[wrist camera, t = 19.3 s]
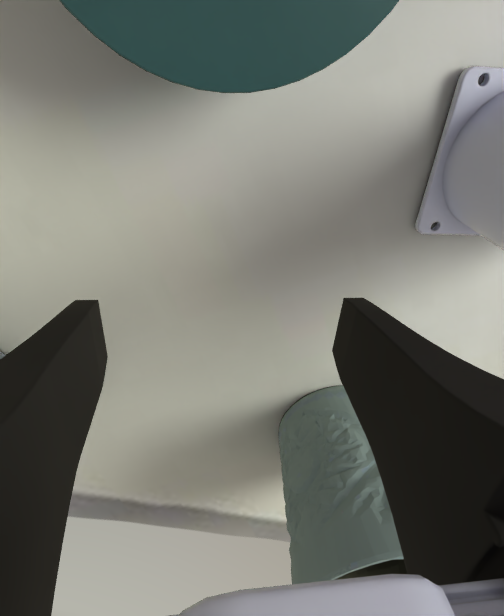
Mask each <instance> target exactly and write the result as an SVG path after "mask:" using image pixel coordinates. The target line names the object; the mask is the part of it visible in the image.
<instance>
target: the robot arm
mask: <svg viewBox="0 0 504 616" xmlns="http://www.w3.org/2000/svg"><path fill="white" fill-rule="evenodd" d="M482 74H484V80H483V82H482V83H481V84H480V85H479V84H478V79H479V77H480V76H481V75H482ZM434 222H437V224H436V226H435V227H433V228H431V225H432V224H433V223H434ZM415 228H416V230H417V231H418V232H420V233H421V234H430V235H481V236H483V237H484V238H486V239H487V240H489V241H490V242H492V243H493V244H495V245H496V246H498V247H499V248H501V249H502V250H504V68H496V67H483V66H469V67H467V68H466V69H464V70H463V72H462V73H461V75H460V77H459V80H458V83H457V86H456V90H455V93H454V96H453V100H452V103H451V107H450V110H449V113H448V117H447V120H446V123H445V127H444V130H443V133H442V137H441V140H440V143H439V147H438V150H437V154H436V157H435V160H434V164H433V167H432V170H431V174H430V177H429V180H428V184H427V187H426V190H425V194H424V197H423V201H422V204H421V207H420V211H419V214H418V217H417V221H416V225H415ZM332 352H333V355H334V359H335V363H336V367H337V370H338V373H339V377H340V379H341V382H342V384H343V386H344V389H345V391H346V393H347V395H348V398H349V400H350V402H351V404H352V407H353V409H354V411H355V413H356V415H357V418H358V420H359V422H360V424H361V426H362V429H363V431H364V433H365V435H366V437H367V440H368V442H369V445H370V447H371V450H372V452H373V455H374V458H375V461H376V464H377V468H378V471H379V474H380V477H381V480H382V483H383V486H384V490H385V493H386V496H387V500H388V503H389V506H390V510H391V513H392V517H393V520H394V524H395V528H396V532H397V535H398V539H399V543H400V546H401V550H402V554H403V558H404V562H405V567H406V571H407V574H386V575H377V576H367V577H358V578H348V579H339V580H329V581H320V582H311V583H301V584H292V585H282V586H273V587H263V588H254V589H244V590H238V591H233V592H229V593H224V594H220V595H216V596H211V597H207V598H205V599H203V600H201V601H199V602H197V603H196V604H194V605H192V606H190V607H189V608H187V609H185V610H183V611H182V612H181V613H180V614H179V615H170V616H504V379H502V378H499V377H497V376H495V375H492V374H490V373H488V372H486V371H484V370H482V369H479V368H477V367H476V366H474V365H472V364H470V363H468V362H466V361H464V360H462V359H460V358H458V357H456V356H454V355H452V354H451V353H449V352H447V351H445V350H444V349H442V348H440V347H439V346H437V345H435V344H433V343H432V342H430V341H428V340H427V339H425V338H424V337H422V336H421V335H419V334H417V333H416V332H414V331H413V330H411V329H410V328H408V327H407V326H405V325H404V324H402V323H401V322H399V321H398V320H396V319H395V318H394V317H392V316H391V315H389V314H388V313H386V312H385V311H383V310H382V309H380V308H379V307H377V306H376V305H374V304H373V303H371V302H369V301H368V300H366V299H364V298H344V299H343V304H342V308H341V313H340V318H339V322H338V327H337V331H336V336H335V340H334V345H333V350H332ZM107 357H108V356H107V350H106V344H105V338H104V333H103V327H102V321H101V315H100V309H99V303H98V300H75V301H74V302H72V303H71V304H70V305H69V306H67V307H66V308H65V309H64V310H63V311H61V312H60V313H59V314H58V315H57V316H56V317H54V318H53V319H52V320H51V321H50V322H48V323H47V324H46V325H45V326H43V327H42V328H41V329H40V330H39V331H37V332H36V333H35V334H34V335H32V336H31V337H30V338H29V339H27V340H26V341H25V342H23V343H22V344H21V345H19V346H18V347H17V348H15V349H14V350H13V351H11V352H10V353H8V354H7V355H6V356H4V357H3V358H2V359H0V616H51V612H52V605H53V599H54V591H55V585H56V579H57V572H58V567H59V561H60V555H61V549H62V543H63V537H64V532H65V526H66V521H67V516H68V511H69V505H70V500H71V495H72V491H73V486H74V481H75V476H76V471H77V467H78V464H79V460H80V456H81V453H82V450H83V447H84V444H85V440H86V437H87V434H88V431H89V428H90V425H91V422H92V419H93V416H94V413H95V409H96V406H97V403H98V400H99V397H100V393H101V390H102V387H103V381H104V376H105V370H106V363H107Z"/></svg>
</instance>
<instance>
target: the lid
mask: <svg viewBox="0 0 504 616" xmlns="http://www.w3.org/2000/svg"><path fill="white" fill-rule="evenodd" d="M59 1H60V2H61V3H62V4H63V5H64V6H65V8H66V9H67V10H68V11H69V12H70V13H71V14H72V15H73V16H74V17H75V18H76V19H77V20H78V21H79V22H81V23H82V24H83V25H84V26H85V27H86V28H87V29H88V30H89V31H90V32H91V33H92V34H93V35H94V36H95V37H97V38H98V39H99V40H101V41H102V42H103V43H105V44H106V45H107V46H108V47H110V48H111V49H112V50H114V51H115V52H116V53H117V54H119V55H120V56H122V57H124V58H125V59H127V60H129V61H130V62H132V63H134V64H135V65H137V66H139V67H140V68H142V69H144V70H145V71H148V72H150V73H152V74H154V75H157V76H159V77H161V78H164V79H166V80H168V81H170V82H173V83H177V84H180V85H184V86H187V87H191V88H194V89H198V90H205V91H212V92H220V93H251V92H257V91H263V90H269V89H275V88H278V87H281V86H284V85H288V84H291V83H294V82H297V81H300V80H302V79H304V78H306V77H308V76H310V75H312V74H314V73H316V72H319V71H321V70H323V69H324V68H326V67H327V66H329V65H330V64H332V63H334V62H335V61H337V60H338V59H340V58H341V57H343V56H344V55H346V54H347V53H348V52H349V51H351V50H352V49H353V48H354V47H355V46H356V45H358V44H359V43H360V42H361V41H362V40H364V39H365V38H366V37H367V36H368V35H369V34H370V33H371V32H372V31H373V30H374V29H375V28H376V27H377V26H378V25H379V24H380V23H381V21H382V20H383V19H384V18H385V17H386V16H387V15H388V14H389V13H390V12H391V11H392V9H393V8H394V7H395V5H396V4H397V2H398V1H399V0H59Z"/></svg>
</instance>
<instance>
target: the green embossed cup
mask: <svg viewBox="0 0 504 616" xmlns="http://www.w3.org/2000/svg"><path fill="white" fill-rule="evenodd" d="M279 448H280V457H281V463H282V477H283V479H282V480H283V483H284V485H283V491H284V499H285V503H286V505H285V512H286V518H287V530H288V532H289V534H290V536H291V543H290V548H289V551H290V556H291V576H292V584H301V583H311V582H320V581H329V580H339V579H348V578H358V577H367V576H377V575H386V574H407V571H406V567H405V562H404V558H403V554H402V550H401V546H400V543H399V539H398V535H397V532H396V528H395V524H394V520H393V517H392V513H391V510H390V506H389V503H388V500H387V496H386V493H385V490H384V486H383V483H382V480H381V477H380V474H379V471H378V468H377V464H376V461H375V458H374V455H373V452H372V450H371V447H370V445H369V442H368V440H367V437H366V435H365V433H364V431H363V429H362V426H361V424H360V422H359V420H358V418H357V415H356V413H355V411H354V409H353V407H352V404H351V402H350V400H349V398H348V395H347V393H346V391H345V389H344V386H334V387H329V388H325V389H321V390H318V391H316V392H313V393H311V394H309V395H307V396H305V397H303V398H302V399H300V400H299V401H297V402H296V403H295V404H294V405H293V406H291V407H290V409H289V410H288V411H287V412H286V413H285V415H284V417H283V418H282V421H281V423H280V426H279Z"/></svg>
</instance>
